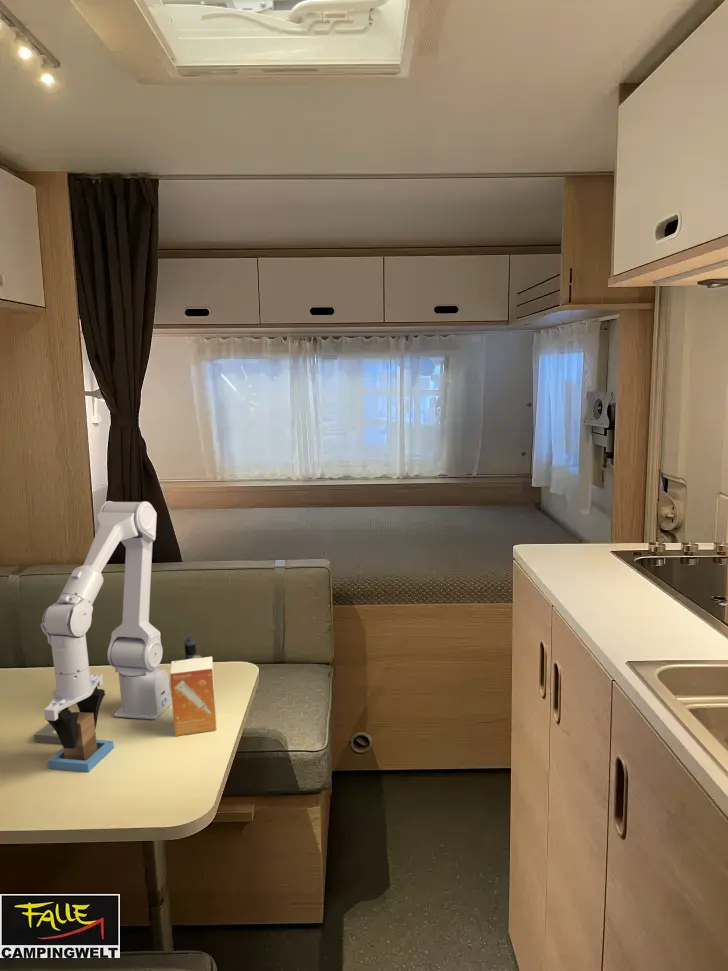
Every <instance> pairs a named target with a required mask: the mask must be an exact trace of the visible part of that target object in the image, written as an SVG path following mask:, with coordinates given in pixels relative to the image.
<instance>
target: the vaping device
mask: <svg viewBox="0 0 728 971" xmlns="http://www.w3.org/2000/svg"><path fill="white" fill-rule="evenodd" d="M196 644H197V643H196V639H193V637H192V636H187V637H186V640H184V654H185V659H184V660H186V659H193V658H203V657H202V655H201V654H197V646H196Z"/></svg>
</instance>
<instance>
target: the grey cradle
mask: <svg viewBox="0 0 728 971" xmlns="http://www.w3.org/2000/svg"><path fill="white" fill-rule="evenodd" d="M53 732H54V733H53ZM33 738H34V743H46V744H59V745H62V743H61V741H60V739H59V736H58V735H57V733H56V732H55V729H54V728H53V727H52V725H51V724H50V723H49V722H48V723H47V724H46V725H45V726H42V728H40V729H39V730H38V731H36V732H35V733H34V734H33Z"/></svg>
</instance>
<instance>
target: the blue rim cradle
mask: <svg viewBox="0 0 728 971" xmlns="http://www.w3.org/2000/svg"><path fill="white" fill-rule="evenodd" d="M96 742H97V751H96V752H95V753H94V754H93V755H92V756H91V757H90V758H89V759H87V760H86V761H83V760H72V759H65V756H64V748H63V747H62V748H61V749H60V750H59V751H58V752H57V753H55V755H53V756H51V758H49V759H48V760H47V763H48V764H47V765H48V769H52V770H62V771H72V772H84V773H89V772H90V771H92V769H94V768H95V767H96V766H97V765H98V764H99V763H100V762H101V761H102V760H104V758H106V756H107V755H108V754H110V753H111V751H113V748H115V747H114V740H107V739H96Z"/></svg>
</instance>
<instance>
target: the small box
mask: <svg viewBox="0 0 728 971" xmlns="http://www.w3.org/2000/svg"><path fill="white" fill-rule="evenodd" d="M213 660H214V659H213V656H205V657H202V658H193V659H186V660H185V659H180V660H171V661H170V663H171V664H170V673H169V676H170V677H169V679H170V693H171V700H172V703H171V704H172V715H173V717H172V718H173V727H174V736H175V737H177V736H183V735H184V736H185V735H190V734H191V733H192V734H197V733H198V732H199V733H204V732H205V733H206V731H207V732H215V731H214V730H216V731H217V728H218V727H217V723H218V722H217V706H216V694H215V679H214V678H215V676H214V664H213V663H214V662H213ZM199 733H198V734H199ZM192 734H191V735H192Z"/></svg>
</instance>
